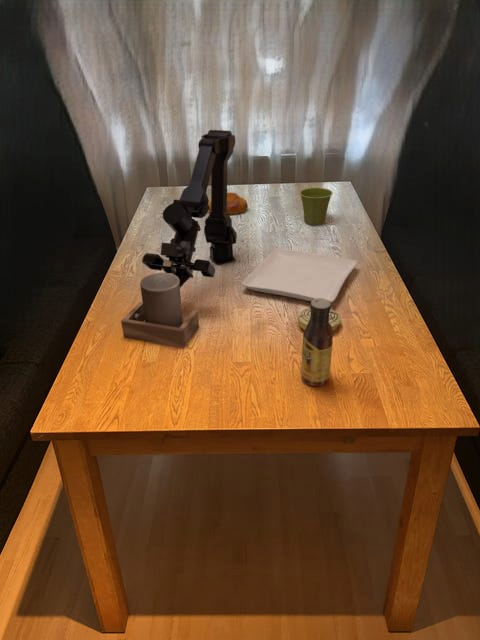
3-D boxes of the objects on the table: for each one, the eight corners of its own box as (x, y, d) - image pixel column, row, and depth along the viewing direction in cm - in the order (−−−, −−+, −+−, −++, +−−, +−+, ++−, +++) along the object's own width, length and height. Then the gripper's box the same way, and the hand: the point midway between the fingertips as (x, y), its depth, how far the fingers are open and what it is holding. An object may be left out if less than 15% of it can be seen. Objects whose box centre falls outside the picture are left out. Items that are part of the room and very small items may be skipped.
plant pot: (336, 219, 196) (338, 190, 190) (322, 230, 188) (324, 199, 182) (307, 214, 202) (308, 185, 196) (292, 224, 193) (293, 194, 187)
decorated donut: (348, 325, 135) (349, 312, 133) (323, 343, 129) (324, 330, 127) (314, 311, 141) (315, 299, 139) (289, 327, 135) (290, 315, 133)
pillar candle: (138, 334, 134) (131, 282, 126) (158, 315, 141) (152, 264, 133) (172, 342, 131) (166, 289, 123) (190, 322, 138) (186, 271, 130)
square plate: (358, 270, 161) (359, 259, 159) (332, 313, 141) (333, 300, 139) (275, 256, 172) (275, 245, 169) (239, 294, 151) (239, 282, 149)
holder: (142, 318, 140) (139, 301, 138) (199, 327, 136) (197, 310, 133) (123, 337, 133) (121, 321, 130) (183, 348, 128) (182, 331, 125)
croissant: (246, 221, 203) (248, 201, 199) (205, 217, 202) (207, 197, 198) (246, 207, 215) (248, 188, 211) (208, 203, 215) (210, 184, 210)
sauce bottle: (298, 371, 119) (301, 294, 108) (325, 369, 119) (331, 292, 109) (303, 390, 113) (307, 310, 103) (332, 387, 114) (339, 308, 103)
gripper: (140, 224, 134) (125, 282, 131) (208, 231, 129) (194, 291, 126) (157, 240, 145) (143, 294, 142) (221, 248, 140) (208, 304, 137)
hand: (171, 296), depth 136 cm, fingers closed, pressing on pillar candle
